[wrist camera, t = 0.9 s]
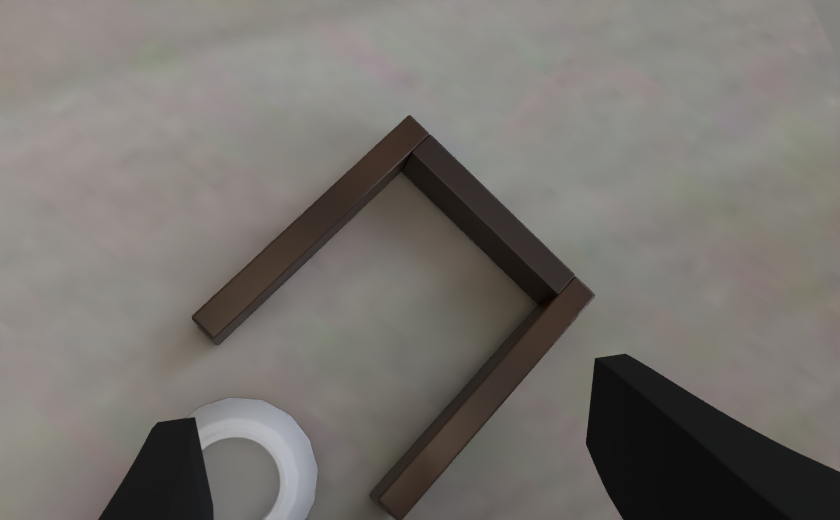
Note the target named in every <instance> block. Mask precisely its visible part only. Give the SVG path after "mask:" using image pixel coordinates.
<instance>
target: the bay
mask: <svg viewBox="0 0 840 520" xmlns="http://www.w3.org/2000/svg"><path fill="white" fill-rule="evenodd" d="M401 171H402V172H403V173H404V174H405V175H406V176H407V177H408V178H409V179H410V180H411V181H412V182H413V183H415V184H416V185H417V186H418V187H419V188H420V189H421V190H422V191H423V192H424V193H425V194H426V195H427V196H428V197H429V198H430V199H431V200H432V201H433V202H434V203H435V204H436V205H437V206H438V207H439V208H440V209H441V210H442V211H443V212H444V213H445V214H446V215H447V216H448V217H449V218H450V219H452V220H453V221H454V222H455V223H456V224H457V225H458V226H459V227H460V228H461V229H462V230H463V231H464V232H465V233H466V234H467V235H468V236H469V237H470V238H471V239H472V240H473V241H474V242H475V243H476V244H477V245H478V246H479V247H480V248H481V249H482V250H483V251H484V252H485V253H486V254H487V255H489V256H490V257H491V258H492V259H493V260H494V261H495V262H496V263H497V264H498V265H499V266H500V267H501V268H502V269H503V270H504V271H505V272H506V273H507V274H508V275H509V276H510V277H511V278H512V279H513V280H514V281H515V282H516V283H517V284H518V285H519V286H520V287H521V288H522V289H523V290H524V291H525V292H527V293H528V294H529V295H530V296H531V297H532V298H533V299H534V300H535V301H536V302H537V303H539V304H538V305H537V306H536V308H535V309H534V310H533V311H532V312H531V313H530V314H529V315H528V316H527V318H526V319H525V320H524V321H523V322H522V323H521V324H520V325H519V327H518V328H517V329H516V330H515V331H514V332H513V333H512V334H511V336H510V337H509V338H508V339H507V340H506V341H505V342H504V343H503V345H502V346H501V347H500V348H499V349H498V350H497V351H496V352H495V353H494V355H493V356H492V357H491V358H490V359H489V360H488V361H487V362H486V364H485V365H484V366H483V367H482V368H481V369H480V370H479V371H478V373H477V374H476V375H475V376H474V377H473V378H472V379H471V380H470V382H469V383H468V384H467V385H466V386H465V387H464V388H463V389H462V390H461V392H460V393H459V394H458V395H457V396H456V397H455V398H454V399H453V401H452V402H451V403H450V404H449V405H448V406H447V407H446V408H445V410H444V411H443V412H442V413H441V414H440V415H439V416H438V417H437V419H436V420H435V421H434V422H433V423H432V424H431V425H430V426H429V427H428V429H427V430H426V431H425V432H424V433H423V434H422V435H421V436H420V438H419V439H418V440H417V441H416V442H415V443H414V444H413V445H412V447H411V448H410V449H409V450H408V451H407V452H406V453H405V454H404V456H403V457H402V458H401V459H400V460H399V461H398V462H397V463H396V464H395V466H394V467H393V468H392V469H391V470H390V471H389V472H388V473H387V475H386V476H385V477H384V478H383V479H382V480H381V481H380V482H379V484H378V485H377V486H376V487H375V488H374V489H373V490H372V491H371V493H370V496H371V498H373V499H374V500H375V501H376V502H377V503H378V504H379V505H380V506H381V507H382V508H383V509H384V510H385V511H386V512H387V513H388V514H389V515H390V516H392V517H393V518H394V519H396V520H402V519H403V518H404V517H405V516H406V515H407V513H408V512H409V511H410V510H411V509H412V508H413V507H414V505H415V504H416V503H417V502H418V501H419V500H420V498H421V497H422V496H423V495H424V494H425V493H426V491H427V490H428V489H429V488H430V487H431V486H432V485H433V483H434V482H435V481H436V480H437V479H438V478H439V476H440V475H441V474H442V473H443V472H444V471H445V469H446V468H447V467H448V466H449V465H450V464H451V463H452V461H453V460H454V459H455V458H456V457H457V456H458V454H459V453H460V452H461V451H462V450H463V449H464V447H465V446H466V445H467V444H468V443H469V442H470V441H471V439H472V438H473V437H474V436H475V435H476V434H477V432H478V431H479V430H480V429H481V428H482V427H483V426H484V424H485V423H486V422H487V421H488V420H489V419H490V417H491V416H492V415H493V414H494V413H495V412H496V410H497V409H498V408H499V407H500V406H501V405H502V404H503V402H504V401H505V400H506V399H507V398H508V397H509V395H510V394H511V393H512V392H513V391H514V390H515V388H516V387H517V386H518V385H519V384H520V383H521V382H522V380H523V379H524V378H525V377H526V376H527V375H528V373H529V372H530V371H531V370H532V369H533V368H534V366H535V365H536V364H537V363H538V362H539V361H540V360H541V358H542V357H543V356H544V355H545V354H546V353H547V351H548V350H549V349H550V348H551V347H552V346H553V344H554V343H555V342H556V341H557V340H558V339H559V338H560V336H561V335H562V334H563V333H564V332H565V331H566V329H567V328H568V327H569V326H570V325H571V324H572V322H573V321H574V320H575V319H576V318H577V317H578V316H579V314H580V313H581V312H582V311H583V310H584V309H585V307H586V306H587V305H588V304H589V303H590V302H591V301H592V299H593V298H594V297H595V294H594V293H593V292H592V291H591V290H590V289H589V288H588V287H587V286H586V285H585V284H584V283H582V282H581V281H580V280H579V279H578V278H577V277H574V276H575V274H574V273H573V272H572V271H571V270H570V269H569V268H568V267H567V266H566V265H564V264H563V263H562V262H561V261H560V260H559V259H558V258H557V257H556V256H555V255H554V254H553V253H552V252H551V251H550V250H549V249H548V248H547V247H546V246H545V245H544V244H543V243H542V242H541V241H540V240H539V239H538V238H537V237H536V236H535V235H534V234H533V233H532V232H531V231H530V230H528V229H527V228H526V227H525V226H524V225H523V224H522V223H521V222H520V221H519V220H518V219H517V218H516V217H515V216H514V215H513V214H512V213H511V212H510V211H509V210H508V209H507V208H506V207H505V206H504V205H503V204H502V203H501V202H500V201H499V200H498V199H497V198H496V197H495V196H493V195H492V194H491V193H490V192H489V191H488V190H487V189H486V188H485V187H484V186H483V185H482V184H481V183H480V182H479V181H478V180H477V179H476V178H475V177H474V176H473V175H472V174H471V173H470V172H469V171H468V170H467V169H466V168H465V167H464V166H463V165H462V164H461V163H460V162H458V161H457V160H456V159H455V158H454V157H453V156H452V155H451V154H450V153H449V152H448V151H447V150H446V149H445V148H444V147H443V146H442V145H441V144H440V143H439V142H438V141H437V140H436V139H435V138H434V137H433V136H432V135H429V133H428V132H427V131H426V130H425V129H424V128H423V127H422V126H421V125H420V124H419V123H418V122H417V121H416V120H415V119H414V118H413V117H412V116H410V115H409V116H407V117H406V118H405V119H404V120H403V121H402V122H401V123H400V124H399V125H398V126H396V127H395V128H394V129H393V130H392V131H391V132H390V133H389V134H388V135H387V136H386V137H385V138H384V139H382V140H381V141H380V142H379V143H378V144H377V145H376V146H375V147H374V148H373V149H372V150H371V151H369V152H368V153H367V154H366V155H365V156H364V157H363V158H362V159H361V160H360V161H359V162H358V163H357V164H355V165H354V166H353V167H352V168H351V169H350V170H349V171H348V172H347V173H346V174H345V175H344V176H343V177H341V178H340V179H339V180H338V181H337V182H336V183H335V184H334V185H333V186H332V187H331V188H330V189H328V190H327V191H326V192H325V193H324V194H323V195H322V196H321V197H320V198H319V199H318V200H317V201H316V202H314V203H313V204H312V205H311V206H310V207H309V208H308V209H307V210H306V211H305V212H304V213H303V214H302V215H300V216H299V217H298V218H297V219H296V220H295V221H294V222H293V223H292V224H291V225H290V226H289V227H288V228H286V229H285V230H284V231H283V232H282V233H281V234H280V235H279V236H278V237H277V238H276V239H275V240H273V241H272V242H271V243H270V244H269V245H268V246H267V247H266V248H265V249H264V250H263V251H262V252H261V253H259V254H258V255H257V256H256V257H255V258H254V259H253V260H252V261H251V262H250V263H249V264H248V265H247V266H245V267H244V268H243V269H242V270H241V271H240V272H239V273H238V274H237V275H236V276H235V277H234V278H232V279H231V280H230V281H229V282H228V283H227V284H226V285H225V286H224V287H223V288H222V289H221V290H220V291H218V292H217V293H216V294H215V295H214V296H213V297H212V298H211V299H210V300H209V301H208V302H207V303H206V304H204V305H203V306H202V307H201V308H200V309H199V310H198V311H197V312H196V313H195V314H194V315H193V316H192V320H193V321H194V322H195V324H196V325H197V327H198V328H199V329H200V330H201V331H202V332H203V333H204V334H205V335H206V336H208V337H209V338H210V339H211V340H212V341H213V342H214V343H215V344H216V345H220V344H221V343H222V342H223V341H224V340H225V339H226V338H227V337H228V336H229V335H230V334H231V333H232V332H233V331H234V330H235V329H236V328H237V327H238V326H240V325H241V324H242V323H243V322H244V321H245V320H246V319H247V318H248V317H249V316H250V315H251V314H252V313H253V312H254V311H255V310H256V309H257V308H258V307H259V306H260V305H261V304H263V303H264V302H265V301H266V300H267V299H268V298H269V297H270V296H271V295H272V294H273V293H274V292H275V291H276V290H277V289H278V288H279V287H280V286H281V285H282V284H283V283H285V282H286V281H287V280H288V279H289V278H290V277H291V276H292V275H293V274H294V273H295V272H296V271H297V270H298V269H299V268H300V267H301V266H302V265H303V264H304V263H305V262H307V261H308V260H309V259H310V258H311V257H312V256H313V255H314V254H315V253H316V252H317V251H318V250H319V249H320V248H321V247H322V246H323V245H324V244H325V243H326V242H327V241H328V240H330V239H331V238H332V237H333V236H334V235H335V234H336V233H337V232H338V231H339V230H340V229H341V228H342V227H343V226H344V225H345V224H346V223H347V222H348V221H349V220H350V219H352V218H353V217H354V216H355V215H356V214H357V213H358V212H359V211H360V210H361V209H362V208H363V207H364V206H365V205H366V204H367V203H368V202H369V201H370V200H371V199H372V198H373V197H375V196H376V195H377V194H378V193H379V192H380V191H381V190H382V189H383V188H384V187H385V186H386V185H387V184H388V183H389V182H390V181H391V180H392V179H393V178H394V177H395V176H397V175H398V174H399V173H400V172H401Z"/></svg>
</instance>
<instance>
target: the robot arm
mask: <svg viewBox="0 0 840 520" xmlns="http://www.w3.org/2000/svg"><path fill="white" fill-rule="evenodd" d="M586 445H587V448H588V450H589V452H590V455H591V457H592V460H593V462H594V464H595V467H596V469H597V471H598V474H599V476H600V478H601V480H602V482H603V485H604V487H605V489H606V491H607V493H608V495H609V496H610V498H611V500H612V502H613V503H614V505H615V507H616V508H617V510H618V512H619V513H620V515H621V517H622V518H623V520H840V472H839V471H837V470H834V469H832V468H830V467H828V466H825V465H823V464H821V463H819V462H817V461H814V460H812V459H810V458H808V457H806V456H804V455H801V454H799V453H797V452H795V451H793V450H791V449H789V448H787V447H785V446H783V445H781V444H779V443H777V442H775V441H773V440H771V439H769V438H768V437H766V436H764V435H762V434H760V433H758V432H756V431H755V430H753V429H751V428H749V427H747V426H745V425H743V424H742V423H740V422H738V421H736V420H735V419H733V418H731V417H729V416H728V415H726V414H724V413H723V412H721V411H719V410H717V409H716V408H714V407H712V406H711V405H709V404H707V403H706V402H704V401H703V400H701V399H699V398H698V397H696V396H694V395H693V394H691V393H689V392H688V391H686V390H685V389H683V388H681V387H680V386H678V385H677V384H675V383H673V382H672V381H670V380H669V379H667V378H665V377H664V376H662V375H661V374H659V373H657V372H656V371H654V370H653V369H651V368H649V367H648V366H646V365H644V364H643V363H641V362H639V361H638V360H636V359H634V358H632V357H631V356H629V355H627V354H621V355H614V356H607V357H600V358H595V363H594V373H593V382H592V391H591V401H590V410H589V420H588V429H587V438H586ZM98 520H214V516H213V502H212V497H211V492H210V487H209V482H208V478H207V473H206V468H205V463H204V458H203V453H202V448H201V443H200V439H199V434H198V429H197V424H196V419H195V417H191V418H184V419H177V420H171V421H164V422H158V423H157V424H156V425H155V426H154V427H153V428H152V430H151V432H150V433H149V435H148V437H147V439H146V441H145V443H144V445H143V447H142V448H141V450H140V452H139V454H138V456H137V457H136V459H135V461H134V463H133V464H132V466H131V468H130V469H129V471H128V473H127V475H126V476H125V478H124V480H123V481H122V483H121V485H120V486H119V488H118V489H117V491H116V492H115V494H114V496H113V497H112V499H111V500H110V502H109V503H108V505H107V507H106V508H105V510H104V511H103V513H102V514H101V516H100V517H99V519H98Z"/></svg>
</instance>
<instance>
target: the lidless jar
mask: <svg viewBox="0 0 840 520" xmlns="http://www.w3.org/2000/svg"><path fill="white" fill-rule="evenodd" d="M191 417H195V419H196V424H197V429H198V434H199V439H200V443H201V448H202V453H203V458H204V463H205V468H206V473H207V478H208V482H209V487H210V492H211V497H212V502H213V516H214V520H305V519H306V517H307V515H308V513H309V511H310V509H311V507H312V506H313V504H314V500H315V491H316V482H317V473H318V468H317V465H316V461H315V458H314V454H313V450H312V447H311V443H310V440H309V438H308V437H307V436H306V434H305V433H304V432H303V431H302V429H301V428H300V427H299V426H298V424H297V423H296V422H295V420H294V419H293V418H292V417H291V415H289V414H287V413H286V412H284V411H282V410H280V409H278V408H276V407H274V406H272V405H271V404H269V403H267V402H265V401H263V400H254V399H243V398H232V397H231V398H227V399H224V400H221V401H217V402H214V403H211V404H207V405H204V406H201V407H199V408H198V409H196V410H195V411H194V412H192V413H191V414H190V415H189V416H187V417H186V418H191Z"/></svg>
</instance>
